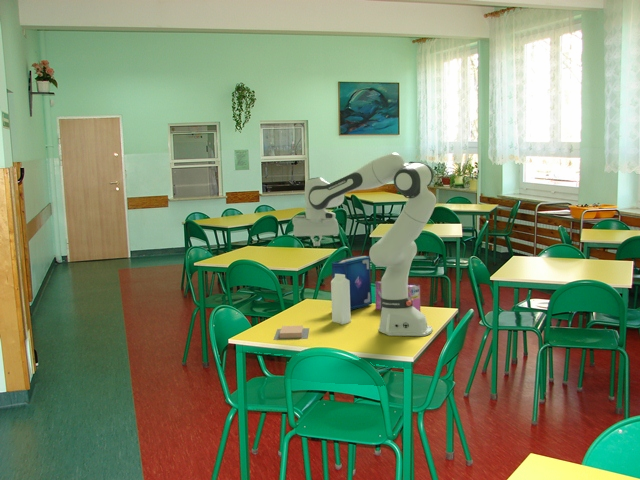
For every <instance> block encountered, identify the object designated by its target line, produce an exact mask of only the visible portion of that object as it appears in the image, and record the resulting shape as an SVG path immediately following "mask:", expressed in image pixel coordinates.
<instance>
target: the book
mask: <svg viewBox="0 0 640 480" xmlns="http://www.w3.org/2000/svg"><path fill="white" fill-rule="evenodd" d="M331 273H332V275H331V277H332V280H333V279H334V277H335V274H344V275H345V278H346V279H348V280H349V282H350V311H354V310H358V309H362V308H365V307H367V306H370V305H372V304H373V297H372V295H373V294H372V279H371V278H372V276H371V275H372V274H371V273H372V272H371V259H370V256H369V255H354V256H349V257H348V256H347V257H345V258H341V259H340V260H335V261H333V262H331ZM357 308H358V309H357ZM353 309H354V310H353Z"/></svg>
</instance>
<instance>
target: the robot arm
mask: <svg viewBox="0 0 640 480" xmlns="http://www.w3.org/2000/svg"><path fill="white" fill-rule="evenodd" d="M433 180H434V170H433V169H432V167H431V166H430V164H427V163H425V162H419V161H408V162H406V161H405V159H404V157H403V156H402V155H401V154H399V153H397V152H392V153H387V154H384V155H382V156H379V157H377V158H375V159H373V160H371V161H369V162H368V163H366V164H364V165H363V166H361V167H359V168H357V169H356V170H354V171H352V172H351V173H349V174H347V175H346V176H344V177H341V178H339V179H337V180H334V181H332V182H331V183H330V181H329V182H328V181H326V180H325V179H324V178H323V177H321V176H319V177H318V176H317V177H311V178H309V179H307V180H306V181H305V184H304V199H305V206H304V207H305V209H304V211H305V214H300V215H297V214H296V215H294V216H293V217H292V221H291V223H292V225H293V229H292V231H293V236H294V237H310V240H311V241H312V243H313V247H320V246H321V241H322V239H323V236H338V235H339V234H340V229H339V228H340V227H339V223H338V220H337V218H336V213H335V212H332V211H330V210H326V209H329V208H330V209H331V208H336V207H339V206H342V204H343V203H344V201H345V196H346V194H347V193H351V192H354V191H360V190H361V191H363V190H371V189H377V188H380V187H382V186H384V185H386V184H389V183H390V182H393V185H394V187H395V188H396V190H397V191H398V192H400V193H401V194H402V195H403V197H404V198H405V199H408V200H407V202H406V203H405V205H404V207H403V208H402V210H401V212H400V214H399V215H398V217H397V219H396V220H395V222H394V223H393V224H392V225H391V227H390V228H389V229H388V230H387V231H386V232H385V233H384V234H383V236H382V237H381V238H380V239H378V241H377V242H375V243H374V244H372V246H371V247H370V248H369V255H368V256H369V257H370V262H371V263H372V264H373V265H375V266H377V267H381V268H382V267H383V268H384V267H386V269H385V271H384V273H383V274H382V275H383V276H382V277H381V280H380V282H381V296H382V297H381V300H380V307H381V310H380V311H381V312H380V320H379V321H380V322H379V325H378V326H379V327H378V332H380V333H383V334H385V335H386V336H392V337H394V336H399V337H402V336H403V337H404V336H405V337H410V336H411V337H425V336H428V335H430V334H431V333H432V332H433V327H432V326H431V325H428V320H427V317H426V315H425V314H424V313H423V312H421V310H420V311H418V310H417V309H416V308H415V307H413V298H412V299H411V298H409V297H408V283H409V274H410V271H411V270H410V269H411V265H412V262H413V259H414V258H415V257H416V255H417V252H418V247H417V244H416V242H415V240H416V239H418V237H420V234H422V232H423V230H424V229H425V227H426V225H427V223H428V222H429V220H430V218H431V216H432V215H433V212H434V210H435V208H436V207H435V206H436V204H437V197H436V195H435V194H434V193H433V192H432V191H431V190H429V188H428V186H430V185H431V183H432V182H433ZM315 236H318V238H319V239H318V241H315V239H314V238H315Z"/></svg>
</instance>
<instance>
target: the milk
mask: <svg viewBox="0 0 640 480" xmlns="http://www.w3.org/2000/svg"><path fill="white" fill-rule="evenodd" d="M330 291H331V293H330V295H331V296H330V297H331V320H332V323H338V324H339V325H341V326H343V325H346V324H348V323H351V322H352V320H351V319H352V317H351V310H350V282H349V280H348V279H346V278H345V275H344V274H335V277H334V279H333V278H332V279H331V281H330Z"/></svg>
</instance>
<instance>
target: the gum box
mask: <svg viewBox="0 0 640 480" xmlns="http://www.w3.org/2000/svg"><path fill="white" fill-rule="evenodd" d="M374 283H375V284H374V287H375V288H374V289H375V290H374V291H375V293H374V295H375V297H374V298H375V310H380V311H381V307H380V300H381V297H382V296H381V281H375V282H374ZM408 297H409V298H411V299H412V298H413V307H415V308H416V309H417V310H418V311H420V312H421V285H420V284H417V283H410V282H408Z"/></svg>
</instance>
